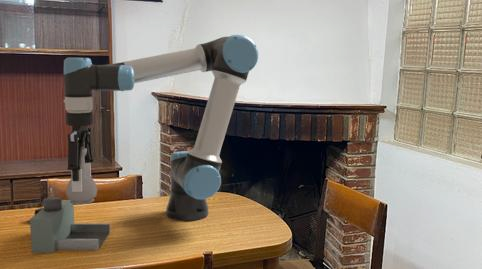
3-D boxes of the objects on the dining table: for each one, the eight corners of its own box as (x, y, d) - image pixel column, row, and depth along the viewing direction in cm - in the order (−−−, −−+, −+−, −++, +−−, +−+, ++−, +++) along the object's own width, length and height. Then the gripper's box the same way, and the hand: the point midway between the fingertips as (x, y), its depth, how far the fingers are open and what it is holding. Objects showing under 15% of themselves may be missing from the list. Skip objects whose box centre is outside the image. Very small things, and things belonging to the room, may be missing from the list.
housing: (74, 229, 145) (72, 190, 143) (53, 252, 128) (50, 208, 126) (55, 229, 145) (53, 190, 143) (31, 252, 127) (29, 208, 125)
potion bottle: (92, 205, 130) (90, 144, 128) (61, 205, 130) (59, 144, 128) (101, 197, 139) (100, 139, 136) (73, 196, 139) (71, 139, 136)
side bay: (110, 232, 144) (110, 223, 143) (97, 250, 130) (97, 240, 130) (72, 232, 143) (72, 223, 143) (55, 250, 130) (55, 240, 129)
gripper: (77, 107, 141) (80, 178, 144) (52, 115, 120) (56, 197, 124) (102, 108, 141) (104, 178, 144) (80, 115, 121) (83, 197, 124)
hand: (81, 187), depth 134 cm, fingers closed on potion bottle, 8 cm apart
